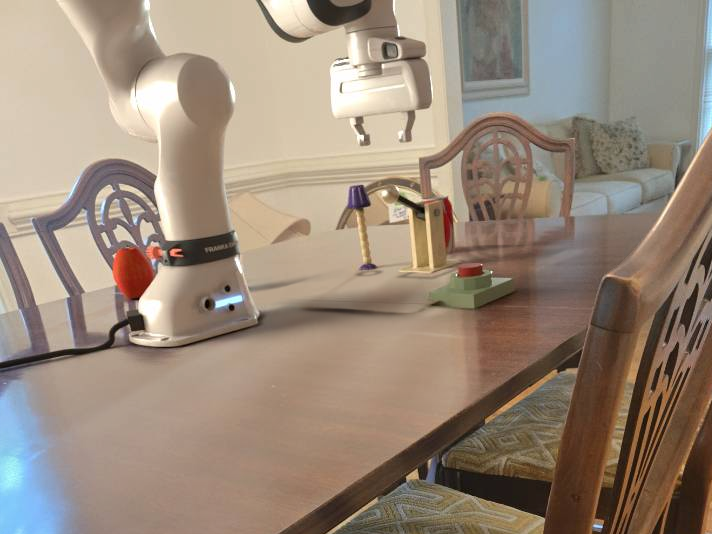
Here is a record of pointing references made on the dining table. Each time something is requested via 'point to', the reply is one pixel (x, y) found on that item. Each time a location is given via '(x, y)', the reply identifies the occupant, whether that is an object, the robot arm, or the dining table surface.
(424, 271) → the bracket
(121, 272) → the apple
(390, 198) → the lever
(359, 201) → the toy lamp
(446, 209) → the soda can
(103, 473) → the dining table surface
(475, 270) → the button
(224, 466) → the dining table surface
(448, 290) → the switch block
